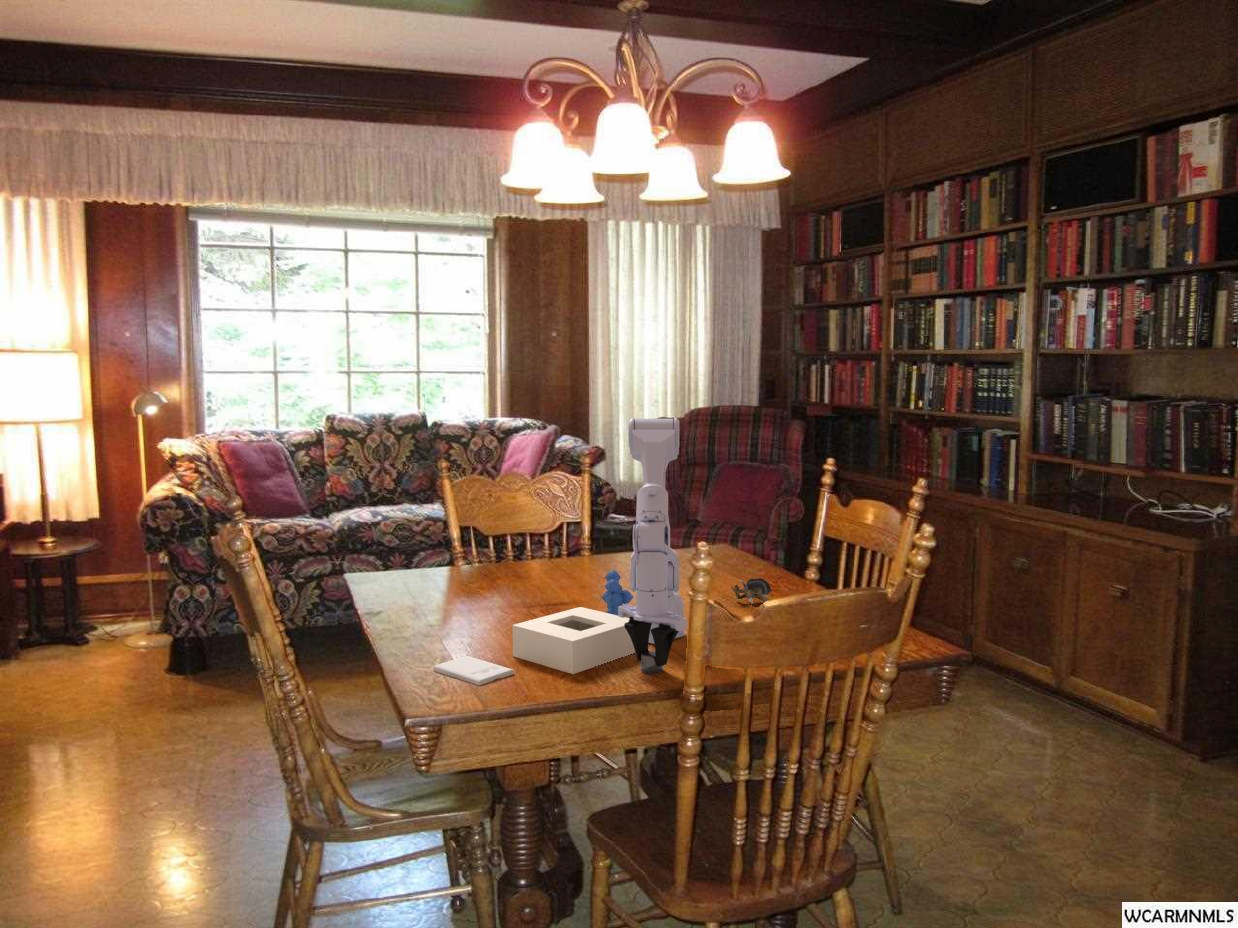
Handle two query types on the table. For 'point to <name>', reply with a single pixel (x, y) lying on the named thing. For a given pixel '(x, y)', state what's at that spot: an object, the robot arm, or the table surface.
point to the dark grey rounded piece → (649, 663)
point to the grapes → (615, 593)
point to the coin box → (572, 639)
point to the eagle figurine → (753, 590)
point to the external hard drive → (473, 670)
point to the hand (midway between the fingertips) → (651, 662)
